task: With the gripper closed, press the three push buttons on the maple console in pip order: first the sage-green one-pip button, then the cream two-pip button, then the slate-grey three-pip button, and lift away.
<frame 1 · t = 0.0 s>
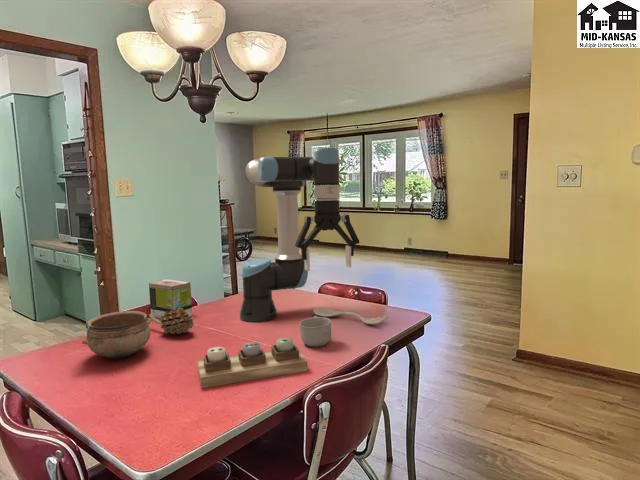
hand: (328, 268, 136), 28 cm above the table, tool pointing down, fingers open, 13 cm apart
button two: (216, 354, 125), point 6 cm above the table, slide at 0.0 cm
console: (252, 370, 129), on the table
cooking pot: (121, 355, 143), on the table
pine cone: (169, 333, 164), on the table
teacup: (316, 342, 151), on the table
spoon: (347, 320, 175), on the table
button one: (284, 345, 131), point 6 cm above the table, slide at 0.0 cm
tea box: (171, 316, 184), on the table
button three: (251, 349, 128), point 6 cm above the table, slide at 0.0 cm
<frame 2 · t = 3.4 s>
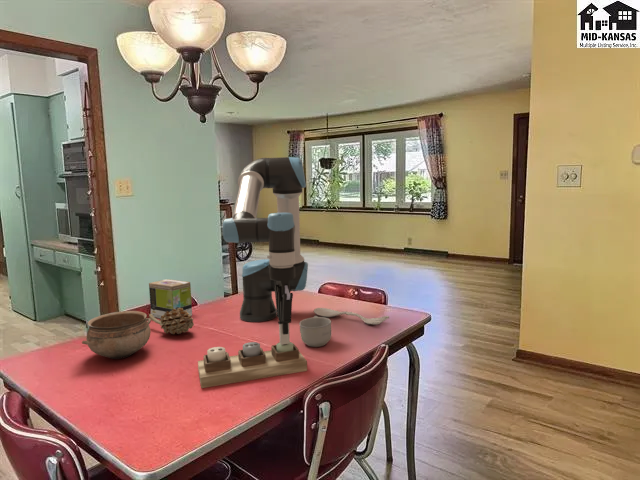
hand: (284, 343, 131), 7 cm above the table, tool pointing down, fingers closed
button one: (284, 349, 131), point 5 cm above the table, slide at 1.2 cm, touching gripper
everything else where it was.
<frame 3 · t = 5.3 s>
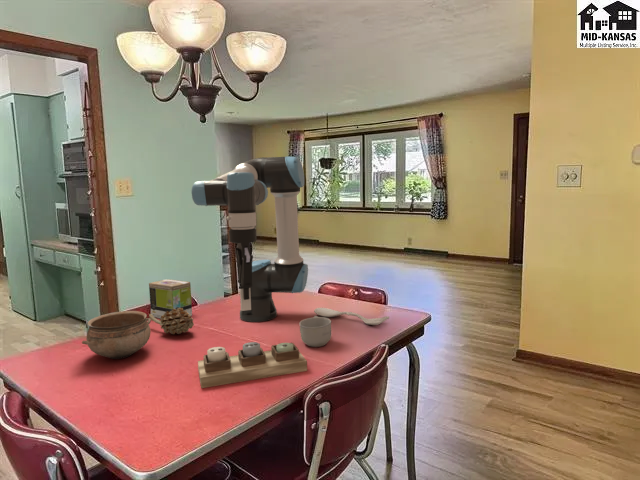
hand: (245, 309, 126), 19 cm above the table, tool pointing down, fingers closed
button one: (284, 350, 131), point 5 cm above the table, slide at 1.6 cm
everything else where it was.
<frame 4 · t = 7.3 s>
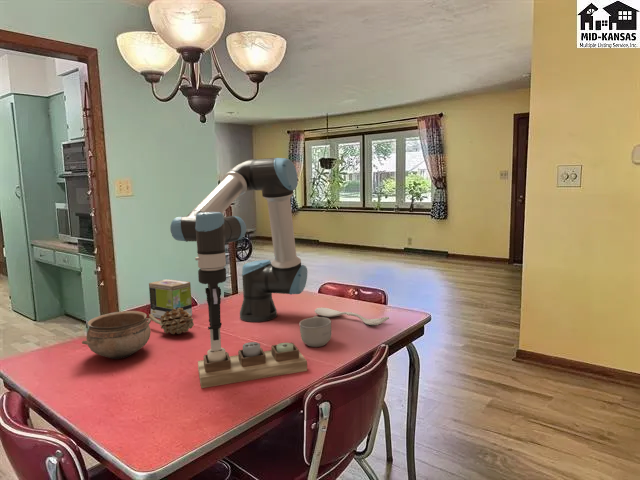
hand: (216, 349, 124), 8 cm above the table, tool pointing down, fingers closed
button two: (216, 355, 125), point 6 cm above the table, slide at 0.2 cm, touching gripper
everything else where it was.
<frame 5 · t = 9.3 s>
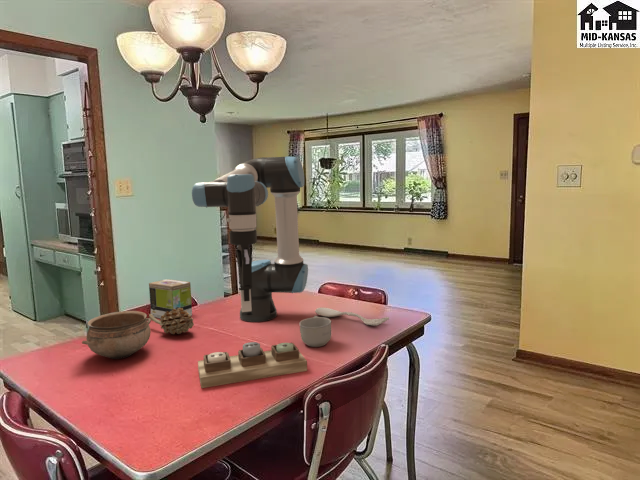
hand: (246, 310, 126), 18 cm above the table, tool pointing down, fingers closed
button two: (216, 360, 125), point 5 cm above the table, slide at 1.6 cm
everything else where it was.
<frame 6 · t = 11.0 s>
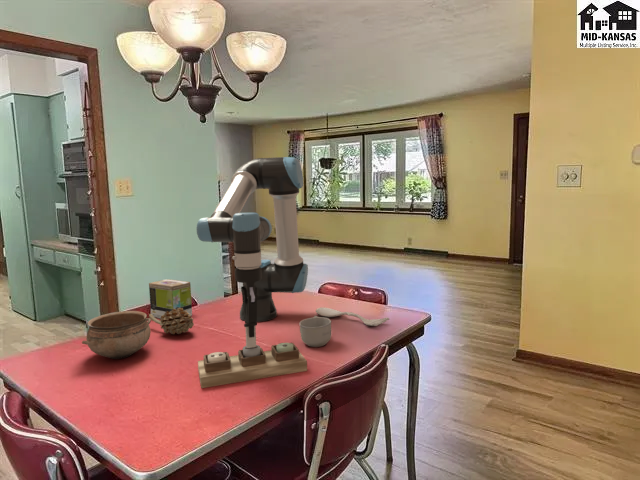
hand: (251, 346, 128), 7 cm above the table, tool pointing down, fingers closed
button three: (251, 352, 128), point 6 cm above the table, slide at 0.8 cm, touching gripper
everything else where it was.
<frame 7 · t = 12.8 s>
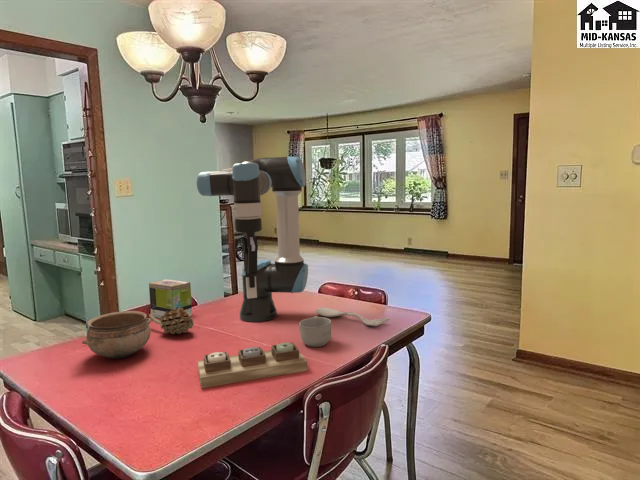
hand: (251, 297, 129), 21 cm above the table, tool pointing down, fingers closed
button three: (251, 355, 128), point 5 cm above the table, slide at 1.6 cm
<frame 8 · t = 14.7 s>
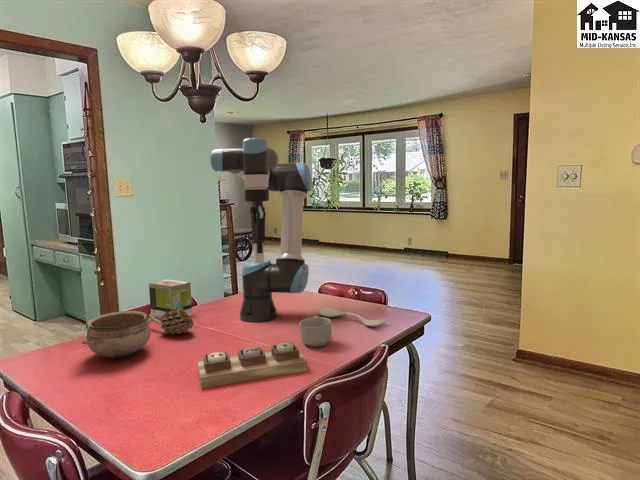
hand: (259, 262, 140), 29 cm above the table, tool pointing down, fingers closed
at the end: button one slide at 1.6 cm; button two slide at 1.6 cm; button three slide at 1.6 cm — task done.
